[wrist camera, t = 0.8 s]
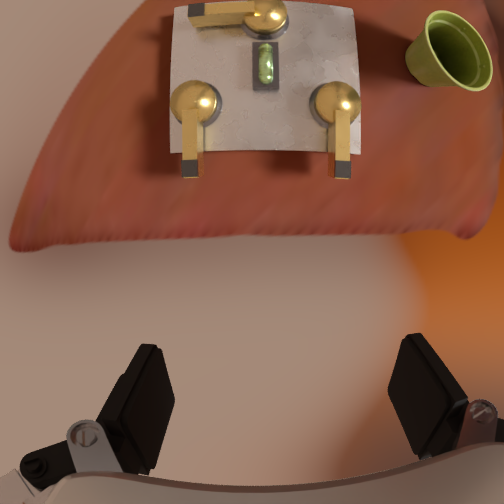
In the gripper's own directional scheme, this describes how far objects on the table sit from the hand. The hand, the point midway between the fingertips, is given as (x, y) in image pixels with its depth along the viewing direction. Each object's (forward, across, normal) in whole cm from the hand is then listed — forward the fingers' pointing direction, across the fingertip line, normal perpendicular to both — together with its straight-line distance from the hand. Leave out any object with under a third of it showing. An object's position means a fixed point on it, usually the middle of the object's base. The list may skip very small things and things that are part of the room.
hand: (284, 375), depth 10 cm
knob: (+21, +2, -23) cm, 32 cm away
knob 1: (+21, +7, -11) cm, 25 cm away
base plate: (+24, 0, -18) cm, 30 cm away
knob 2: (+21, -7, -11) cm, 25 cm away
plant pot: (+24, -20, -21) cm, 38 cm away
